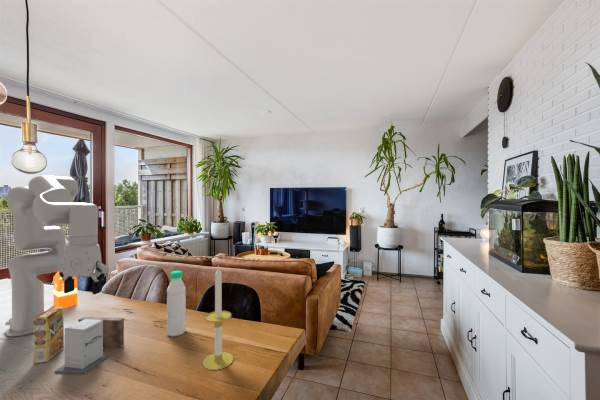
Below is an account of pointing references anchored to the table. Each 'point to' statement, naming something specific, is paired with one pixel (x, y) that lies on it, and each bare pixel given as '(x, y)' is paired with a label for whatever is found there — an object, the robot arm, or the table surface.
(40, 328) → the candy box
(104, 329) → the walnut screen
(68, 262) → the robot arm
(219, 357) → the candle
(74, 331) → the supplement box
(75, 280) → the orange juice
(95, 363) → the mat
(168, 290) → the water bottle
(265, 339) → the table surface
